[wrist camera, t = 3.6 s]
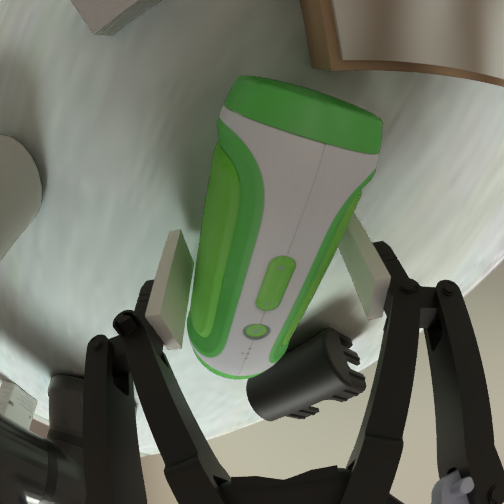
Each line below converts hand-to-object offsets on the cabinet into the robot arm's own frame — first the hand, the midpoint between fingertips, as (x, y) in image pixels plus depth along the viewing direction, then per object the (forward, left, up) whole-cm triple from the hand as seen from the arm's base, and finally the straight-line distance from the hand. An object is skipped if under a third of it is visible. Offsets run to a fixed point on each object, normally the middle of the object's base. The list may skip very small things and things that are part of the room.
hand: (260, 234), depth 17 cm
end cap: (+2, -17, -2) cm, 17 cm away
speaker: (0, 0, -2) cm, 2 cm away
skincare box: (-58, -30, -2) cm, 65 cm away
